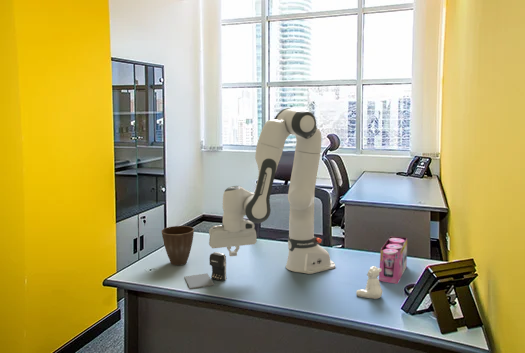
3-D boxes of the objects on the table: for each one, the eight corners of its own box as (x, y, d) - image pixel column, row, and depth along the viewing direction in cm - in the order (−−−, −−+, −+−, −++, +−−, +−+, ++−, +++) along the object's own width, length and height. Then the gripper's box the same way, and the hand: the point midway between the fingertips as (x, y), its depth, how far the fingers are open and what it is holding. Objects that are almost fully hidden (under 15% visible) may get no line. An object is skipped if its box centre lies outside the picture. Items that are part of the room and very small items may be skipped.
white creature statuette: (371, 289, 173) (371, 260, 171) (389, 296, 166) (390, 266, 164) (355, 295, 167) (355, 265, 165) (372, 303, 160) (373, 271, 158)
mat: (207, 274, 190) (207, 273, 190) (214, 285, 178) (214, 284, 178) (184, 277, 187) (184, 276, 187) (190, 289, 175) (190, 287, 175)
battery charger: (208, 279, 185) (207, 253, 184) (214, 276, 188) (213, 250, 187) (221, 282, 181) (220, 256, 180) (227, 279, 184) (226, 253, 183)
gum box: (397, 285, 176) (398, 253, 174) (377, 282, 180) (378, 250, 177) (406, 266, 197) (407, 237, 195) (389, 264, 201) (389, 235, 199)
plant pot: (198, 257, 213) (197, 225, 210) (190, 268, 198) (189, 234, 195) (168, 257, 214) (167, 225, 212) (158, 267, 199) (157, 234, 197)
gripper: (210, 228, 177) (210, 260, 179) (258, 224, 184) (257, 255, 186) (207, 224, 183) (207, 256, 185) (253, 220, 190) (252, 251, 192)
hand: (233, 255), depth 186 cm, fingers closed
